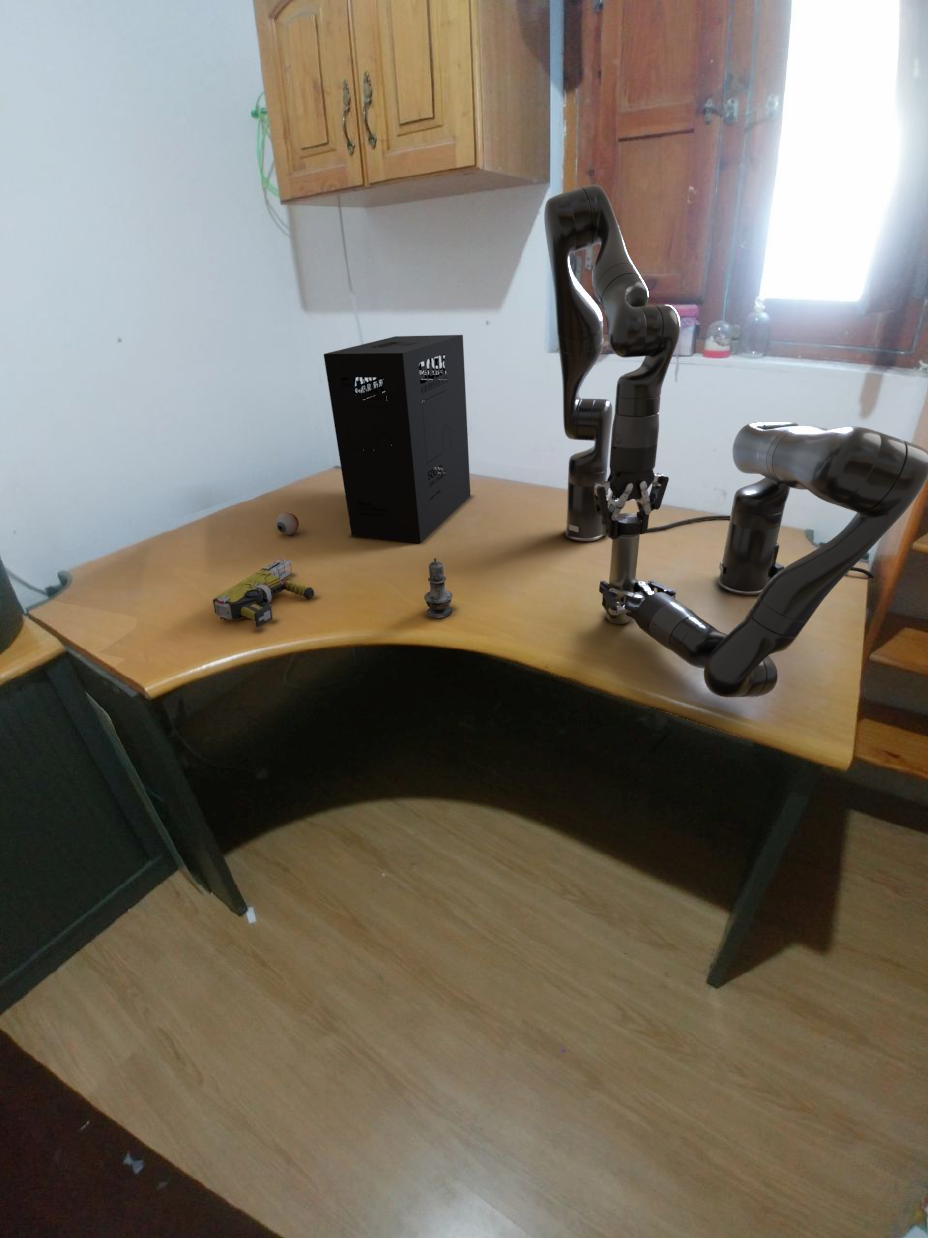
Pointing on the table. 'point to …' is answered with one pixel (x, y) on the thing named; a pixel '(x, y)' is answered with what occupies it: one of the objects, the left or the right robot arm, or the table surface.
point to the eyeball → (287, 523)
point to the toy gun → (258, 594)
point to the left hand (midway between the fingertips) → (626, 534)
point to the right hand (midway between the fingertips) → (613, 582)
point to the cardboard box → (401, 434)
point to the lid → (629, 524)
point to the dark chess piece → (438, 592)
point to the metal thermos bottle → (623, 568)
